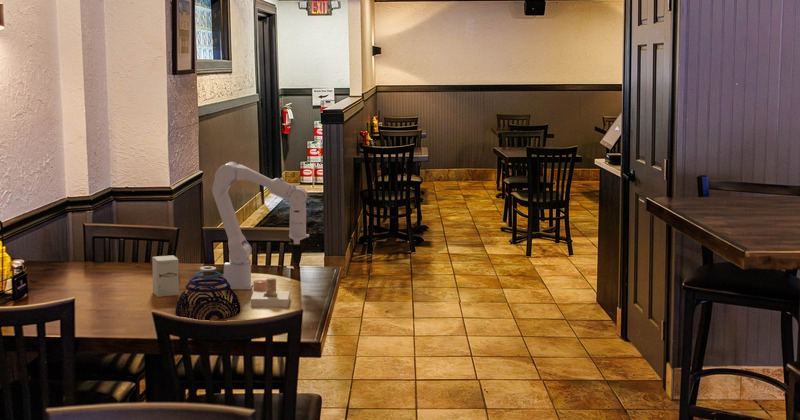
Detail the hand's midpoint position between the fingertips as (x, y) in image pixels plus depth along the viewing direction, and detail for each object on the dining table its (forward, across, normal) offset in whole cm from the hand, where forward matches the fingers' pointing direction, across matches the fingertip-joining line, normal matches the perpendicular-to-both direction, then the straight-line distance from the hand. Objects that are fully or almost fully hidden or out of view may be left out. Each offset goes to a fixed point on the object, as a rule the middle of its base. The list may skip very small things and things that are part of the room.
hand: (297, 260), depth 303 cm
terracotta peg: (+10, -9, +12) cm, 18 cm away
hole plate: (+10, -18, +8) cm, 22 cm away
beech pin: (+10, -18, +8) cm, 22 cm away
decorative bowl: (+11, -29, +27) cm, 41 cm away
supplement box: (+11, -8, +44) cm, 46 cm away
